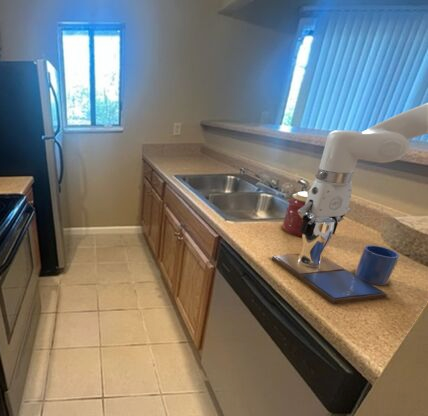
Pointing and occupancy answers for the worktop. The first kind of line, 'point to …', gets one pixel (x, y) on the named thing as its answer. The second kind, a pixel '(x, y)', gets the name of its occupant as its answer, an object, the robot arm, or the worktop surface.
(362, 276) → the blue tumbler
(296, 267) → the sorting board
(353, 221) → the worktop surface
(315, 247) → the beer glass
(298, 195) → the kitchen canister
